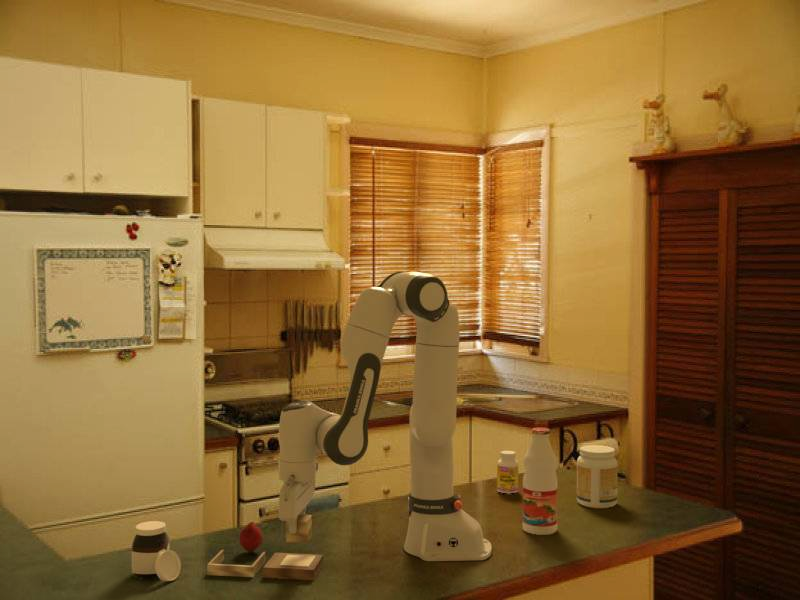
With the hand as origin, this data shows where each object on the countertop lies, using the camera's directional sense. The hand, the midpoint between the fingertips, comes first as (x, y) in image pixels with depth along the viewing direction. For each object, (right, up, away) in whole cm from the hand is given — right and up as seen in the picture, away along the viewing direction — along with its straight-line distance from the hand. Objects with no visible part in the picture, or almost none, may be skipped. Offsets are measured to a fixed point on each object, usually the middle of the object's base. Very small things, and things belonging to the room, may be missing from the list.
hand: (296, 528), depth 201 cm
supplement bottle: (+59, -7, +69) cm, 91 cm away
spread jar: (-32, -11, -2) cm, 34 cm away
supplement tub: (+84, -8, +57) cm, 102 cm away
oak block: (+1, -3, 0) cm, 3 cm away
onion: (-13, -10, +14) cm, 21 cm away
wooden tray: (-8, -10, +2) cm, 13 cm away
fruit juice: (+63, -9, +32) cm, 71 cm away
